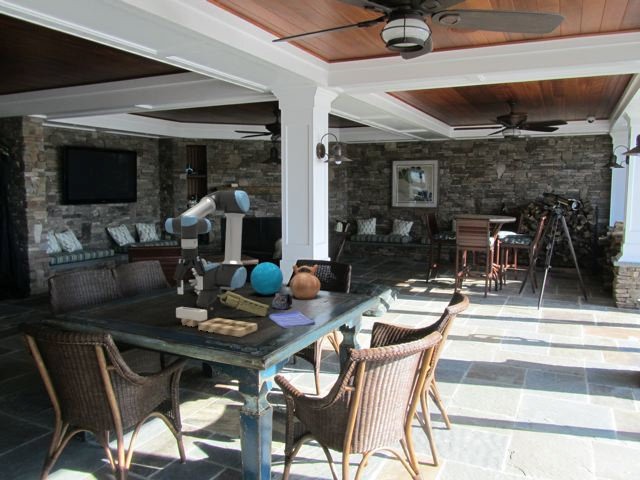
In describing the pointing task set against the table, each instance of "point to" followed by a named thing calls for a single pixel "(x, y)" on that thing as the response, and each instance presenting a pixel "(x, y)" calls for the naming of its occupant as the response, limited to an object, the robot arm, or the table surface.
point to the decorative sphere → (266, 278)
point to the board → (228, 327)
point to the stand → (189, 322)
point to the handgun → (234, 304)
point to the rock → (282, 301)
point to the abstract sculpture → (198, 275)
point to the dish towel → (291, 319)
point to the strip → (191, 314)
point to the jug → (304, 283)
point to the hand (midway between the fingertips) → (190, 291)
